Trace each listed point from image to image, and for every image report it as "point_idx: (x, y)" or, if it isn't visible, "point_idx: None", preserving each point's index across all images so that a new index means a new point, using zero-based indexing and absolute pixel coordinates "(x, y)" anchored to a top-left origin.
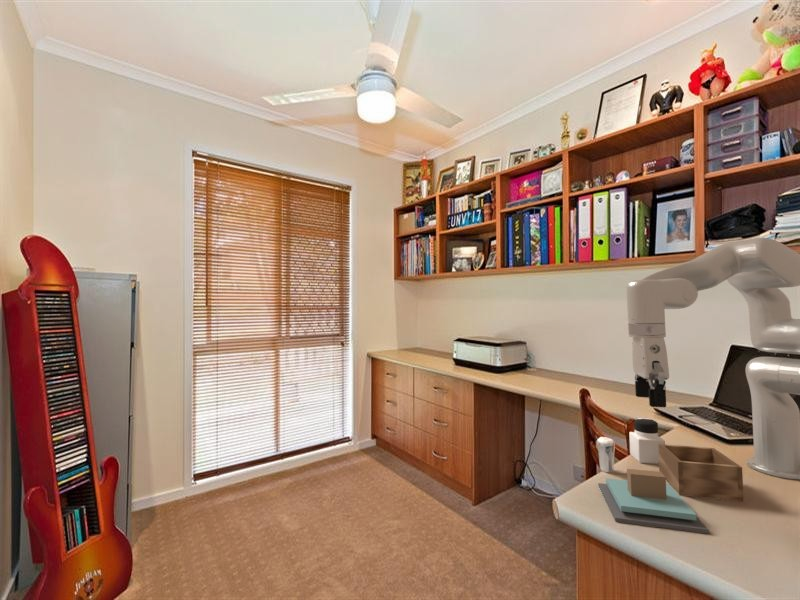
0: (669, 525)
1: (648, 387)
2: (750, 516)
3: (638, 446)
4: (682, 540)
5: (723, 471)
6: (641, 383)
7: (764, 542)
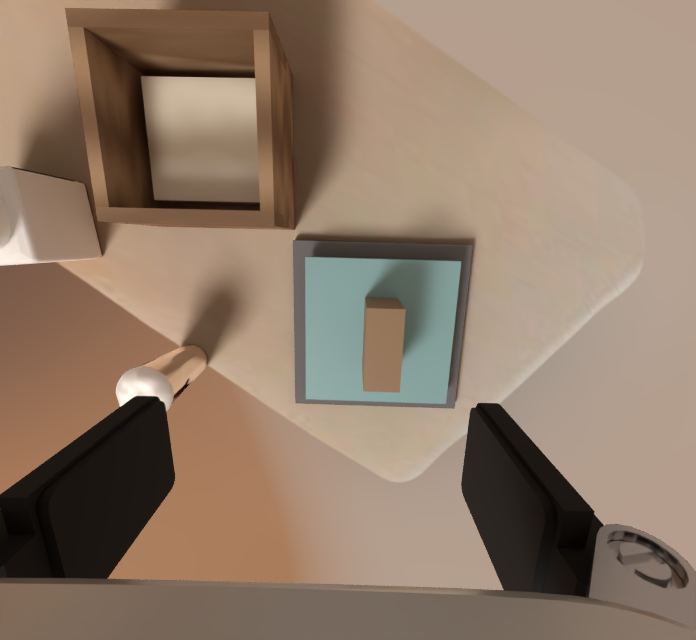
0: (464, 316)
1: (103, 462)
2: (373, 105)
3: (58, 260)
4: (501, 307)
5: (275, 88)
6: (83, 558)
7: (486, 144)
